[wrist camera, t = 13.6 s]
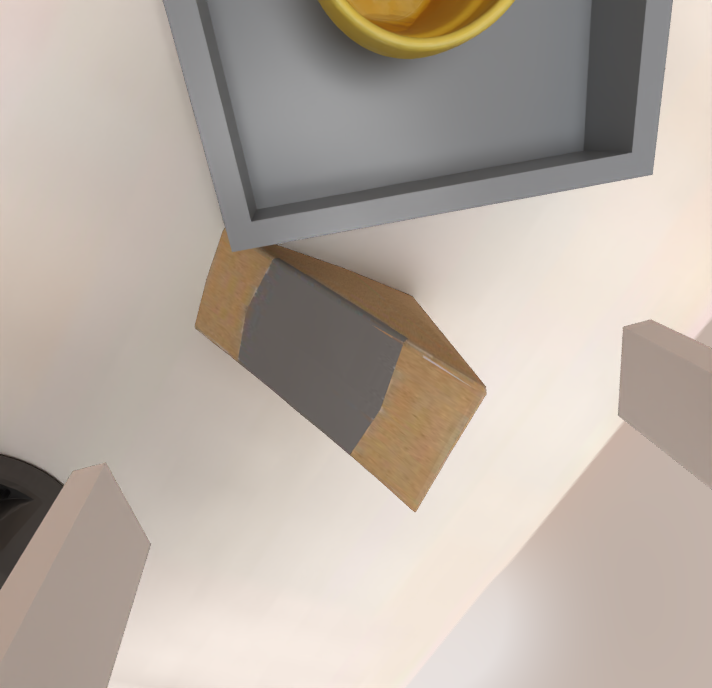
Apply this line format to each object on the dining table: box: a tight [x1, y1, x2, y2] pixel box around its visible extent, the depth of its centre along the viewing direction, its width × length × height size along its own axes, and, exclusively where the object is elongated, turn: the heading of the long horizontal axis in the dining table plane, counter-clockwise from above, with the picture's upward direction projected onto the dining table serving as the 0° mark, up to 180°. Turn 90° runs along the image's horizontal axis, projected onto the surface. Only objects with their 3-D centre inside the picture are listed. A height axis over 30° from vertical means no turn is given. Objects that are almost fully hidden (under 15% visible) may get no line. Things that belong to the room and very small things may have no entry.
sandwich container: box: [195, 228, 486, 512], centre depth 29 cm, size 9×15×15 cm, turn 67°
